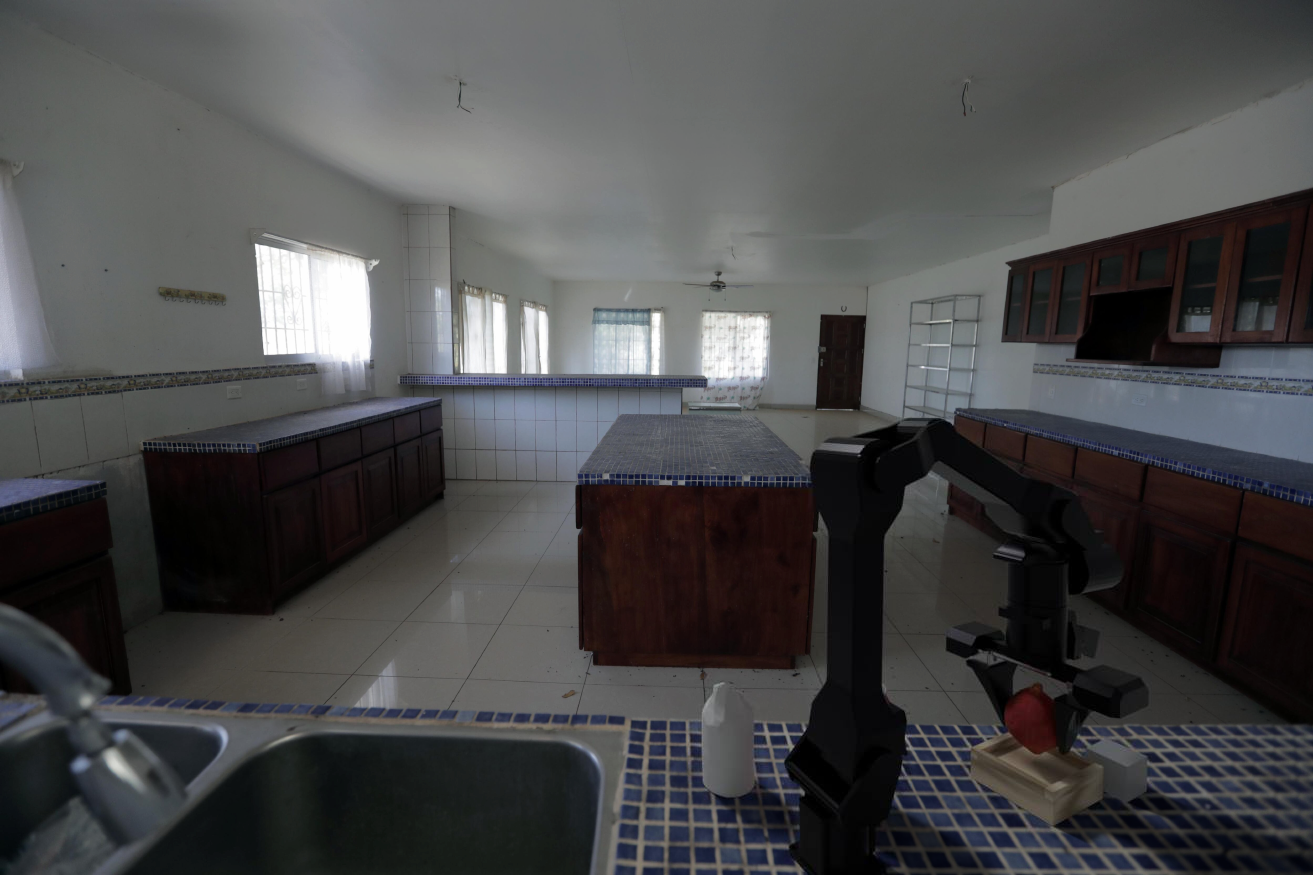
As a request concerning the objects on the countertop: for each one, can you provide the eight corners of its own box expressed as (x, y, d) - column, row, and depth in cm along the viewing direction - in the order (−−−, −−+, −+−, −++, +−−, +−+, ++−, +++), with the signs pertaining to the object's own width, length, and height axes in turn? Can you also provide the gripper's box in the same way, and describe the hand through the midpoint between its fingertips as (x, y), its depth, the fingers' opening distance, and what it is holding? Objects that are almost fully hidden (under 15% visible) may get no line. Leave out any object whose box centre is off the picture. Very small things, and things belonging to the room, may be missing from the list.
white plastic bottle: (755, 671, 69) (752, 694, 64) (756, 771, 70) (753, 802, 64) (704, 667, 71) (697, 689, 65) (705, 765, 71) (698, 795, 66)
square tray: (1052, 825, 60) (1053, 792, 60) (970, 777, 68) (970, 747, 68) (1103, 798, 64) (1103, 766, 64) (1019, 755, 72) (1020, 726, 72)
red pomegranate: (1005, 759, 64) (1005, 687, 64) (1002, 733, 70) (1003, 666, 69) (1070, 774, 62) (1071, 699, 61) (1062, 746, 67) (1063, 676, 66)
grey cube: (1126, 803, 63) (1127, 766, 63) (1085, 782, 67) (1086, 747, 66) (1146, 791, 65) (1147, 756, 65) (1105, 771, 68) (1106, 738, 68)
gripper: (1179, 613, 60) (1175, 763, 61) (1001, 569, 77) (999, 687, 77) (1118, 633, 55) (1115, 796, 56) (942, 582, 72) (941, 708, 72)
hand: (1034, 739), depth 65 cm, fingers closed on red pomegranate, 6 cm apart
